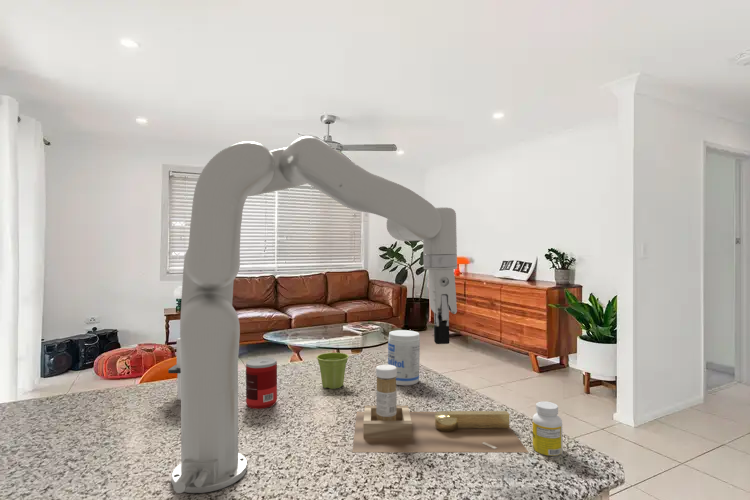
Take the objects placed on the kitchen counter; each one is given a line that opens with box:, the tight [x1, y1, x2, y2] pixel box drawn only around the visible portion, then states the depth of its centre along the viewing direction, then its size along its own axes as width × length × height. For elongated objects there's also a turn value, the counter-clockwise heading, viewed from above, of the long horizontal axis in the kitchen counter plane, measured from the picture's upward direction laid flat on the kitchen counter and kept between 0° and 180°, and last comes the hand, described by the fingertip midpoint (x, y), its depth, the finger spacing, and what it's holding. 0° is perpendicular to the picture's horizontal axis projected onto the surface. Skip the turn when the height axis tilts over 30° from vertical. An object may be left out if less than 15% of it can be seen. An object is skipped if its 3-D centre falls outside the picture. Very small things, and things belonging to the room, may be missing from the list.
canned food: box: [245, 357, 278, 410], centre depth 109 cm, size 8×8×11 cm
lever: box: [435, 410, 510, 431], centre depth 92 cm, size 5×16×3 cm, turn 90°
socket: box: [363, 405, 412, 438], centre depth 92 cm, size 10×10×3 cm
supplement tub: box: [387, 329, 421, 386], centre depth 127 cm, size 10×10×15 cm
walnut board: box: [351, 411, 529, 453], centre depth 91 cm, size 20×34×1 cm, turn 90°
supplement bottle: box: [532, 400, 564, 458], centre depth 82 cm, size 5×5×10 cm
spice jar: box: [375, 364, 398, 421], centre depth 92 cm, size 5×5×14 cm
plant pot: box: [315, 352, 350, 390], centre depth 123 cm, size 9×9×9 cm
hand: (441, 342), depth 96 cm, fingers closed
